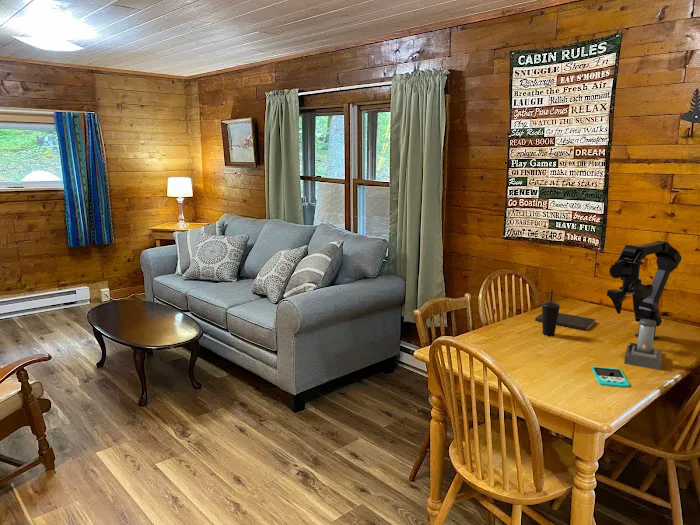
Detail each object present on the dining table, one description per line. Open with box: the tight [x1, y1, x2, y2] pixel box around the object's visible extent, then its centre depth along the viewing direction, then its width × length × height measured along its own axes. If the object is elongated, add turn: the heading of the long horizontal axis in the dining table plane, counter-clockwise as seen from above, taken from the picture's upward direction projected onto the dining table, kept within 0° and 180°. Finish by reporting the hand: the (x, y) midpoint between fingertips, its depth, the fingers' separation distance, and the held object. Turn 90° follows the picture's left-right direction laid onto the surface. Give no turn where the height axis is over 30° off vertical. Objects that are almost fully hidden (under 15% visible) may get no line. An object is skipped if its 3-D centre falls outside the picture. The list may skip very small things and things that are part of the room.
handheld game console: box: [591, 365, 631, 388], centre depth 190 cm, size 10×16×1 cm, turn 166°
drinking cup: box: [541, 289, 561, 337], centre depth 234 cm, size 8×8×20 cm
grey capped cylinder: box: [636, 319, 657, 354], centre depth 202 cm, size 8×5×13 cm, turn 150°
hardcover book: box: [534, 312, 596, 332], centre depth 254 cm, size 16×23×2 cm
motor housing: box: [623, 341, 663, 371], centre depth 208 cm, size 20×12×6 cm, turn 150°
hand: (627, 312), depth 224 cm, fingers open, 9 cm apart
